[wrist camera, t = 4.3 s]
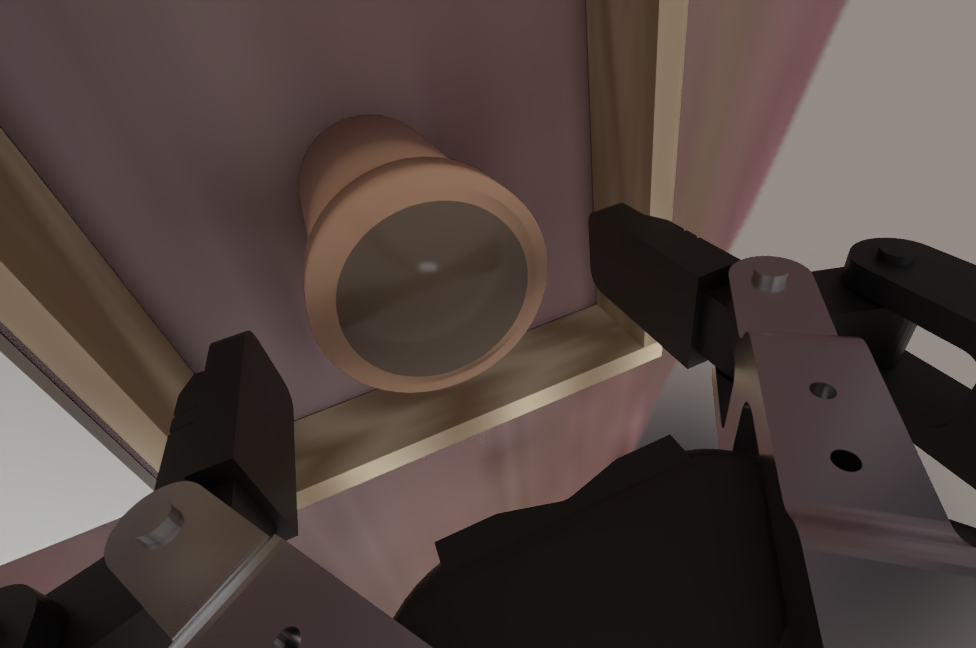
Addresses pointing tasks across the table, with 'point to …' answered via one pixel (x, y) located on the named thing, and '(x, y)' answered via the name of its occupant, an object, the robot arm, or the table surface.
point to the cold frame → (378, 414)
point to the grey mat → (55, 464)
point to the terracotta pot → (413, 258)
